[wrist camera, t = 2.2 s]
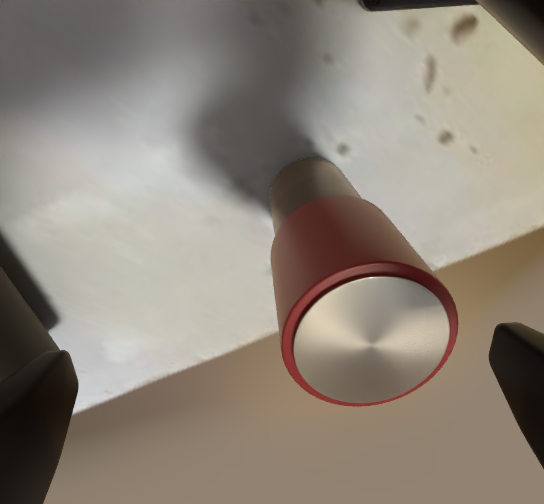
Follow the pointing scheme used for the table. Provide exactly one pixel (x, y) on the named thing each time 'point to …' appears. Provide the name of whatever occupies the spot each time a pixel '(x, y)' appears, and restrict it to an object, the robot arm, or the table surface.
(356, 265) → the can
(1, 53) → the table surface
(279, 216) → the stand
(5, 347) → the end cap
